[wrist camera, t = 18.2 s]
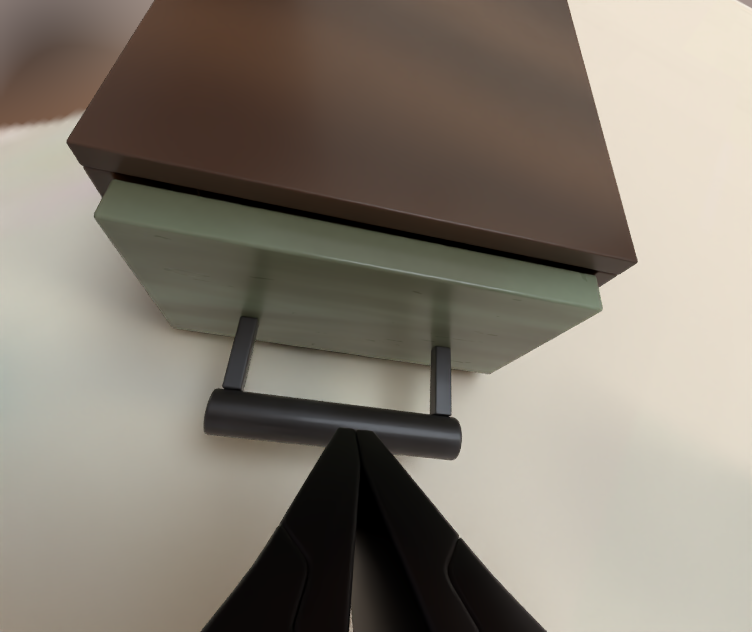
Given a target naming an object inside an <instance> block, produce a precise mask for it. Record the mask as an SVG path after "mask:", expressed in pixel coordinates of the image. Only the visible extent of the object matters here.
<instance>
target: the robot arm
mask: <svg viewBox="0 0 752 632" xmlns="http://www.w3.org/2000/svg"><path fill="white" fill-rule="evenodd" d="M458 538H459V535H458V533H457V532H456V531H455V530H454V529H453V527H452V526H451V525H450V524H449V523H448V521H447V520H446V519H445V518H444V516H443V515H442V514H441V513H440V512H439V510H438V509H437V508H436V507H435V506H434V504H433V503H432V502H431V501H430V499H429V498H428V497H427V496H426V495H425V493H424V492H423V491H422V490H421V489H420V487H419V486H418V485H417V484H416V482H415V481H414V480H413V479H412V478H411V476H410V475H409V474H408V473H407V472H406V470H405V469H404V468H403V467H402V465H401V464H400V463H399V462H398V461H397V459H396V458H395V457H394V456H393V455H392V453H391V452H390V451H389V450H388V448H387V447H386V446H385V445H384V444H383V442H382V441H381V440H380V439H379V438H378V436H377V435H376V434H375V433H374V432H373V431H369V430H360V429H358V430H356V431H355V430H354V429H352V428H343V427H339V428H337V430H336V431H335V433H334V435H333V436H332V438H331V440H330V441H329V443H328V444H327V446H326V448H325V449H324V451H323V453H322V454H321V456H320V458H319V459H318V461H317V463H316V464H315V466H314V468H313V469H312V471H311V473H310V474H309V476H308V477H307V479H306V481H305V482H304V484H303V486H302V487H301V489H300V491H299V492H298V494H297V496H296V497H295V499H294V501H293V502H292V504H291V505H290V507H289V509H288V510H287V512H286V514H285V515H284V517H283V519H282V520H281V522H280V524H279V526H278V527H277V528H276V530H275V531H274V533H273V535H272V536H271V538H270V540H269V541H268V543H267V544H266V546H265V547H264V549H263V550H262V552H261V553H260V555H259V556H258V558H257V559H256V561H255V562H254V564H253V565H252V567H251V568H250V569H249V571H248V572H247V573H246V575H245V576H244V577H243V579H242V580H241V581H240V583H239V584H238V585H237V587H236V588H235V589H234V590H233V592H232V593H231V594H230V595H229V597H228V598H227V599H226V600H225V602H224V603H223V604H222V605H221V607H220V608H219V609H218V610H217V612H216V613H215V614H214V615H213V617H212V618H211V619H210V620H209V622H208V623H207V624H206V625H205V627H204V628H203V629H202V630H201V632H349V623H350V610H351V612H352V624H353V632H547V631H546V630H545V629H544V628H543V627H542V626H541V625H540V624H539V623H538V622H537V621H536V620H535V619H534V618H533V617H532V616H531V615H530V614H529V613H528V612H527V611H526V610H525V609H524V608H523V607H522V606H521V605H520V604H519V602H518V601H517V600H516V599H515V598H514V597H513V596H512V595H511V594H510V593H509V592H508V591H507V590H506V589H505V588H504V587H503V585H502V584H501V583H500V582H499V581H498V580H497V579H496V578H495V577H494V576H493V575H492V574H491V572H490V571H489V570H488V569H487V568H486V567H485V565H484V564H483V563H482V562H481V561H480V560H479V558H478V557H477V556H476V555H475V554H474V553H473V551H472V550H471V549H470V548H469V547H468V545H467V544H466V543H465V542H464V541H463V539H462V538H459V539H458Z"/></svg>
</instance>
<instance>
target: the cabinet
mask: <svg viewBox="0 0 752 632" xmlns="http://www.w3.org/2000/svg"><path fill="white" fill-rule="evenodd" d="M67 144H68V146H69V148H70V149H71V151H72V152H73V154H74V155H75V157H76V158H77V160H78V162H79V163H80V164H81V165H82V166H83V167H84V170H85V171H86V173H87V175H88V176H89V178H90V179H91V181H92V182H93V184H94V186H95V187H96V189H97V190H98V192H99V193H100V195H101V197H102V198H103V196H104V194H105V192H106V190H107V188H108V186H109V184H110V182H111V181H112V180H114V179H116V180H121V181H126V182H131V183H136V184H141V185H146V186H151V187H156V188H161V189H166V190H171V191H172V189H171V186H170V184H175V185H180V186H185V187H190V188H195V189H200V190H205V191H209V192H214V193H219V194H224V195H229V196H234V197H239V198H244V199H249V200H254V201H259V202H264V203H269V204H273V205H278V206H283V207H288V208H293V209H298V210H303V211H308V212H313V213H318V214H323V215H328V216H333V217H337V218H342V219H347V220H352V221H357V222H362V223H367V224H372V225H377V226H382V227H387V228H392V229H397V230H401V231H406V232H411V233H416V234H421V235H426V236H431V237H436V238H441V239H446V240H451V241H456V242H461V243H465V244H470V245H475V246H480V247H485V248H490V249H495V250H500V251H505V252H510V253H515V254H520V255H525V256H529V257H534V258H539V259H544V260H546V261H545V262H543V263H542V264H541V265H545V266H550V267H555V268H560V269H565V270H570V271H575V272H580V273H585V274H590V275H594V276H596V278H597V283H598V288H599V287H600V286H602V285H603V284H605V283H607V282H608V281H610V280H611V279H613V278H614V277H616V276H617V274H621V273H622V272H624V271H626V270H627V269H629V268H630V267H632V266H633V265H635V264H636V263H637V262H638V261H637V257H636V253H635V250H634V246H633V242H632V239H631V235H630V231H629V228H628V224H627V220H626V216H625V213H624V209H623V205H622V202H621V198H620V194H619V191H618V187H617V183H616V180H615V176H614V172H613V168H612V165H611V161H610V157H609V154H608V150H607V146H606V143H605V139H604V135H603V132H602V128H601V124H600V120H599V117H598V113H597V109H596V106H595V102H594V98H593V95H592V91H591V87H590V83H589V80H588V76H587V72H586V69H585V65H584V61H583V58H582V54H581V50H580V47H579V43H578V39H577V35H576V32H575V28H574V24H573V21H572V17H571V13H570V10H569V6H568V2H567V0H154V2H153V3H152V5H151V6H150V8H149V10H148V11H147V13H146V15H145V16H144V18H143V19H142V21H141V23H140V24H139V26H138V27H137V29H136V30H135V32H134V34H133V35H132V37H131V38H130V40H129V42H128V43H127V45H126V47H125V48H124V50H123V51H122V53H121V54H120V56H119V58H118V59H117V61H116V63H115V64H114V66H113V67H112V69H111V70H110V72H109V74H108V75H107V77H106V78H105V80H104V82H103V83H102V85H101V86H100V88H99V90H98V91H97V93H96V95H95V96H94V98H93V99H92V101H91V102H90V104H89V106H88V107H87V109H86V110H85V112H84V114H83V115H82V117H81V118H80V120H79V122H78V123H77V125H76V126H75V128H74V130H73V131H72V133H71V134H70V136H69V138H68V139H67Z"/></svg>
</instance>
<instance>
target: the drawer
mask: <svg viewBox="0 0 752 632" xmlns="http://www.w3.org/2000/svg"><path fill="white" fill-rule="evenodd" d="M170 186H171V189H172V191H171V190H166V189H161V188H156V187H151V186H146V185H141V184H136V183H131V182H126V181H121V180H116V179H114V180H112V181H111V182H110V184H109V186H108V188H107V190H106V192H105V194H104V196H103V198H102V199H101V201H100V203H99V205H98V207H97V209H96V211H95V213H94V218H95V220H96V221H97V222H98V224H99V225H100V227H101V228H102V229H103V231H104V232H105V234H106V235H107V236H108V238H109V239H110V241H111V242H112V244H113V245H114V246H115V248H116V249H117V251H118V252H119V253H120V255H121V256H122V258H123V259H124V260H125V262H126V263H127V265H128V266H129V267H130V269H131V270H132V272H133V273H134V274H135V276H136V277H137V279H138V280H139V281H140V283H141V284H142V286H143V287H144V288H145V290H146V291H147V293H148V294H149V295H150V297H151V298H152V300H153V301H154V302H155V304H156V305H157V307H158V308H159V309H160V311H161V312H162V314H163V315H164V316H165V318H166V319H167V321H168V322H169V323H170V325H171V326H172V327H173V328H176V329H183V330H189V331H196V332H203V333H210V334H217V335H224V336H231V337H235V338H234V342H233V346H232V350H231V354H230V358H229V361H228V365H227V369H226V373H225V377H224V381H223V384H222V387H223V388H224V389H220V388H218V389H215V390H214V391H213V392H212V394H211V396H210V398H209V401H208V404H207V407H206V411H205V416H204V432H205V434H207V435H214V436H224V437H233V438H243V439H253V440H262V441H272V442H281V443H291V444H300V445H310V446H320V447H326V446H327V444H328V443H329V441H330V440H331V438H332V436H333V435H334V433H335V431H336V430H337V428H339V427H343V428H352V429H354V430H355V431H356V430H358V429H360V430H369V431H373V432H374V433H375V434H376V435H377V436H378V438H379V439H380V440H381V441H382V442H383V444H384V445H385V446H386V447H387V448H388V450H389V451H390V452H391V453H392V454H396V455H406V456H415V457H425V458H434V459H444V460H454V459H456V458H457V456H458V455H459V452H460V449H461V442H462V433H461V427H460V424H459V421H458V420H457V419H456V418H454V417H449V416H451V369H457V370H464V371H471V372H478V373H485V374H491V373H493V372H494V371H496V370H498V369H500V368H502V367H503V366H505V365H507V364H509V363H510V362H512V361H514V360H516V359H518V358H519V357H521V356H523V355H525V354H526V353H528V352H530V351H532V350H533V349H535V348H537V347H539V346H541V345H542V344H544V343H546V342H548V341H549V340H551V339H553V338H555V337H557V336H558V335H560V334H562V333H564V332H565V331H567V330H569V329H571V328H573V327H574V326H576V325H578V324H580V323H581V322H583V321H585V320H587V319H588V318H590V317H592V316H594V315H596V314H597V313H599V312H601V311H602V309H603V307H602V302H601V297H600V292H599V288H598V283H597V278H596V276H594V275H590V274H585V273H580V272H575V271H570V270H565V269H560V268H555V267H550V266H545V265H541V264H542V263H543V262H545V261H546V260H544V259H539V258H534V257H529V256H525V255H520V254H515V253H510V252H505V251H500V250H495V249H490V248H485V247H480V246H475V245H470V244H465V243H461V242H456V241H451V240H446V239H441V238H436V237H431V236H426V235H421V234H416V233H411V232H406V231H401V230H397V229H392V228H387V227H382V226H377V225H372V224H367V223H362V222H357V221H352V220H347V219H342V218H337V217H333V216H328V215H323V214H318V213H313V212H308V211H303V210H298V209H293V208H288V207H283V206H278V205H273V204H269V203H264V202H259V201H254V200H249V199H244V198H239V197H234V196H229V195H224V194H219V193H214V192H209V191H205V190H200V189H195V188H190V187H185V186H180V185H175V184H170ZM255 340H258V341H265V342H272V343H279V344H286V345H292V346H299V347H306V348H313V349H320V350H327V351H334V352H341V353H347V354H354V355H361V356H368V357H375V358H382V359H389V360H395V361H402V362H409V363H416V364H423V365H430V366H431V378H430V414H422V413H414V412H405V411H397V410H389V409H381V408H373V407H365V406H357V405H349V404H341V403H333V402H325V401H317V400H309V399H301V398H292V397H284V396H276V395H268V394H260V393H252V392H244V387H245V383H246V378H247V374H248V370H249V366H250V361H251V357H252V353H253V348H254V344H255Z"/></svg>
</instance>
